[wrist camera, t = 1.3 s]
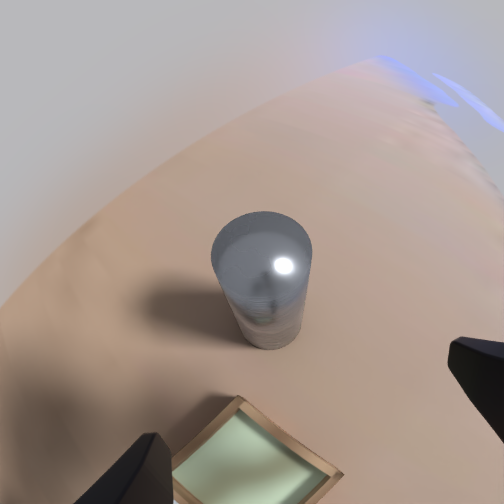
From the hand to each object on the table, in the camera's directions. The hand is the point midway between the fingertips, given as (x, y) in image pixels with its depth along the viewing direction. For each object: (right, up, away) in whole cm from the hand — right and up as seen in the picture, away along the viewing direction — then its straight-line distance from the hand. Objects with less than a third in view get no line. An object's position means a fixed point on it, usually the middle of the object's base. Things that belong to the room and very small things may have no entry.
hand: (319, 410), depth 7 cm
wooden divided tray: (-5, -14, +7) cm, 17 cm away
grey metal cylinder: (0, -1, +15) cm, 15 cm away
